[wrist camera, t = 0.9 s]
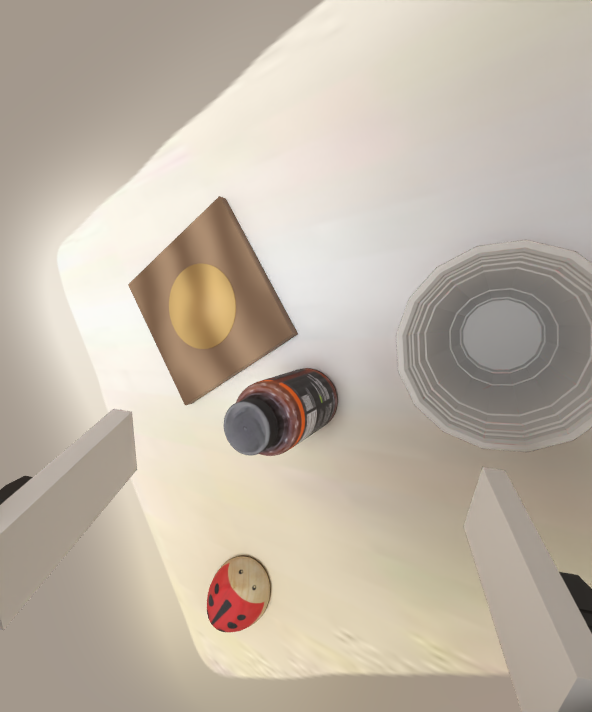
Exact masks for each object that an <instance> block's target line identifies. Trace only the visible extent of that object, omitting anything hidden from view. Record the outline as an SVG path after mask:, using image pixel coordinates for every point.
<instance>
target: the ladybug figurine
mask: <svg viewBox="0 0 592 712" xmlns="http://www.w3.org/2000/svg"><path fill="white" fill-rule="evenodd" d="M269 597H270V584H269V579H268V576H267V574H266V571H265V570H264V568H263V567H262V566H261V565H260V564H259V563H258V562H257V561H256V560H254V559H252V558H250V557H244V556H241V557H235V558H232V559H230V560H228V561H227V562H226V563H225V564H223V566H222V567H221V568H220V569H219V570H218V571H217V573H216V575H215V576H214V578H213V581H212V583H211V585H210V588H209V592H208V597H207V614H208V618H209V620H210V622H211V624H212V625H213V626H214V627H215V628H216V629H217V630H219V631H222V632H236V631H240V630H243V629H245V628H247V627H249V626H251V625H252V624H254V623H255V622H256V621H257V620H258V619H259V618H260V617H261V616H262V615H263V613H264V611H265V609H266V607H267V605H268V602H269Z"/></svg>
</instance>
